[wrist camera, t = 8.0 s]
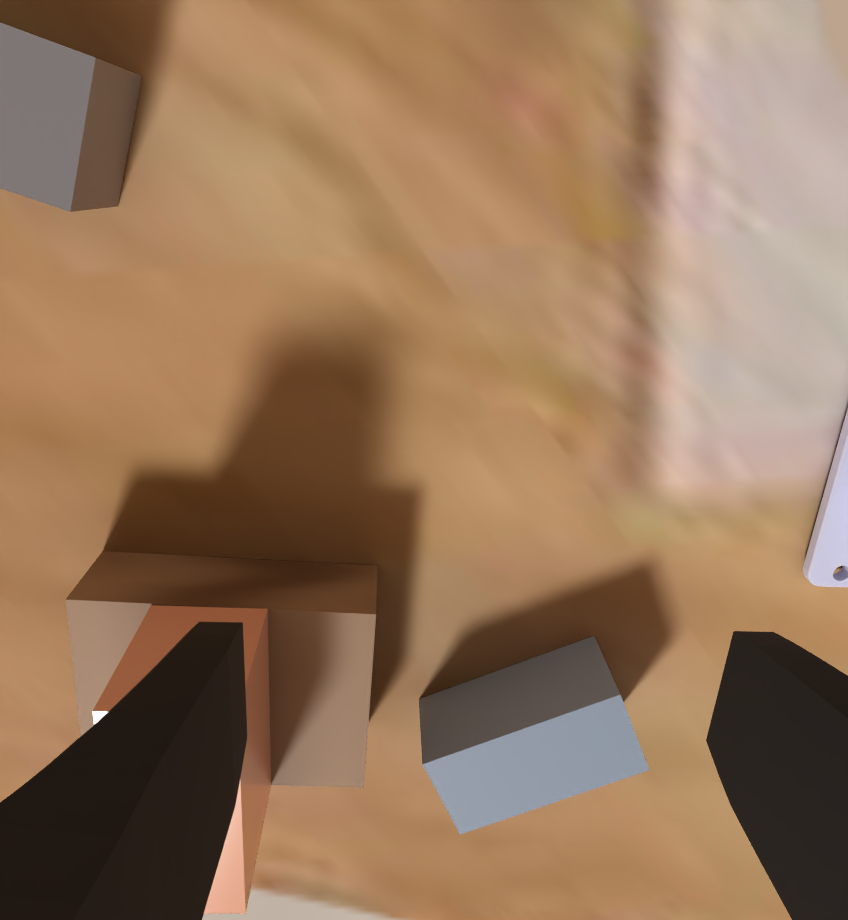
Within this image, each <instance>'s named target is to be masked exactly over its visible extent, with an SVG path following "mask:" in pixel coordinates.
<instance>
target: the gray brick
mask: <svg viewBox="0 0 848 920" xmlns="http://www.w3.org/2000/svg"><path fill="white" fill-rule="evenodd" d="M141 79H142V76H141V75H138V74H136V73H133V72H131V71H128V70H126V69H123V68H121V67H118V66H116V65H113V64H111V63H108V62H106V61H103V60H100V59H98V58H95V57H93V56H90V55H87V54H85V53H82V52H79V51H76V50H74V49H71V48H68V47H66V46H63V45H60V44H57V43H55V42H52V41H49V40H47V39H44V38H41V37H38V36H36V35H33V34H30V33H28V32H25V31H22V30H19V29H17V28H14V27H11V26H9V25H6V24H3V23H0V188H1V189H4V190H7V191H10V192H13V193H16V194H19V195H22V196H25V197H28V198H31V199H34V200H37V201H40V202H43V203H46V204H49V205H52V206H55V207H58V208H61V209H64V210H67V211H70V212H72V211H81V210H89V209H98V208H107V207H116V206H118V204H119V199H120V193H121V188H122V182H123V177H124V171H125V166H126V161H127V155H128V150H129V144H130V139H131V134H132V128H133V123H134V117H135V112H136V106H137V101H138V96H139V90H140V85H141Z"/></svg>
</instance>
